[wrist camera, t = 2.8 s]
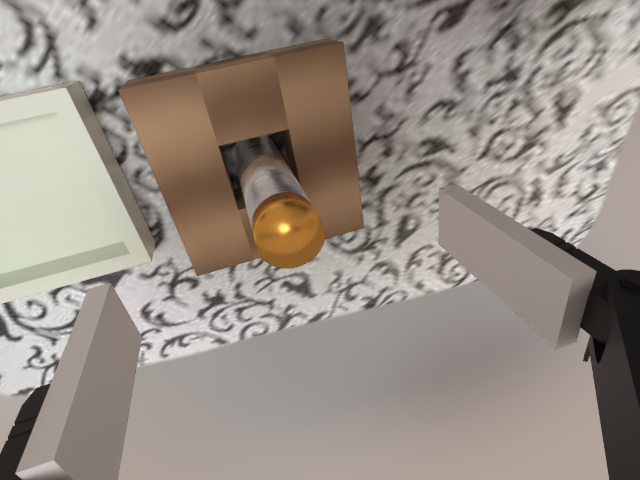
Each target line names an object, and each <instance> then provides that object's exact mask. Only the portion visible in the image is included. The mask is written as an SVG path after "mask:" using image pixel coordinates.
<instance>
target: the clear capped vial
mask: <svg viewBox="0 0 640 480" xmlns="http://www.w3.org/2000/svg"><path fill="white" fill-rule="evenodd" d="M233 157H234V161H235V165H236V169H237V173H238V177H239V181H240V185H241V189H242V193H243V196H244V200H245V204H246V208H247V212H248V216H249V220H250V224H251V228H252V232H253V236H254V239H255V243H256V247H257V250H258V253H259V254H260V256H261V257H262V258H263V259H264V260H265V261H266V262H267V263H269V264H270V265H272V266H275V267H279V268H294V267H298V266H301V265H304V264H306V263H307V262H309V261H310V260H312V259H313V258H314V257H315V256H316V255H317V254H318V253H319V251H320V250H321V248H322V246H323V244H324V240H325V228H324V224H323V222H322V220H321V219H320V217H319V215H318V214H317V212H316V210H315V209H314V207H313V205H312V204H311V202H310V201H309V199H308V197H307V196H306V194H305V192H304V191H303V189H302V187H301V186H300V184H299V182H298V181H297V179H296V178H295V176H294V174H293V173H292V171H291V169H290V168H289V166H288V164H287V163H286V161H285V159H284V158H283V156H282V155H281V153H280V151H279V150H278V148H277V146H276V145H275V143H274V141H273V140H272V139H271V138H270V137H269V136H267V135H263V136H258V137H254V138H250V139H246V140H242V141H238V142H236V144H235V146H234V149H233Z"/></svg>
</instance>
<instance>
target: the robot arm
mask: <svg viewBox="0 0 640 480" xmlns="http://www.w3.org/2000/svg"><path fill="white" fill-rule="evenodd" d="M439 245H440V246H442V247H443V248H444V249H445V250H446V251H447V252H448V253H449V254H450V255H451V256H453V257H454V258H455V259H456V260H457V261H458V262H459V263H460V264H461V265H462V266H464V267H465V268H466V269H467V270H468V271H469V272H470V273H471V274H472V275H473V276H475V277H476V278H477V279H478V280H479V281H480V282H481V283H482V284H483V285H484V286H486V287H487V288H488V289H489V290H490V291H491V292H492V293H493V294H494V295H495V296H497V297H498V298H499V299H500V300H501V301H502V302H503V303H504V304H505V305H506V306H508V307H509V308H510V309H511V310H512V311H513V312H514V313H515V314H516V315H517V316H518V317H520V318H521V319H522V320H523V321H524V322H525V323H526V324H527V325H528V326H529V327H531V328H532V329H533V330H534V331H535V332H536V333H537V334H538V335H539V336H541V337H542V338H543V339H544V340H545V341H546V342H547V343H548V344H549V345H550V346H551V347H553V348H554V349H555V350H556V349H559V348H561V347H564V346H567V345H569V344H572V343H574V342H576V341H577V338H578V334H579V331H580V327H581V328H582V329H583V330H585V331H586V332H587V333H589V334H590V338H589V341H588V345H587V348H586V351H585V354H584V359H583V361H586V362H587V361H588V358H589V356H590V358H591V364H592V370H593V377H594V383H595V389H596V396H597V402H598V409H599V416H600V422H601V429H602V435H603V442H604V448H605V454H606V461H607V468H608V474H609V480H640V271H637V270H618V271H615V270H614V269H612V268H610V267H608V266H607V265H605V264H603V263H602V262H600V261H598V260H597V259H595V258H593V257H592V256H590V255H588V254H586V253H585V252H583V251H581V250H580V249H576V247H575V246H573V245H571V244H570V243H568V242H567V243H566V242H565V240H563V239H561V238H559V237H558V236H556V235H554V234H553V233H550V232H547V231H544V230H540V229H537V228H535V229H531V230H529V229H528V228H526V227H524V226H523V225H521V224H520V223H518V222H516V221H515V220H513V219H512V218H510V217H508V216H507V215H505V214H504V213H502V212H500V211H499V210H497V209H495V208H494V207H492V206H491V205H489V204H487V203H486V202H484V201H483V200H481V199H479V198H478V197H476V196H475V195H473V194H471V193H470V192H468V191H466V190H465V189H463V188H462V187H460V186H458V185H457V184H454V185H450V186H447V187H443V188H440V189H439ZM141 338H142V336H141V334H140V333H139V331H138V329H137V327H136V326H135V324H134V322H133V321H132V319H131V317H130V315H129V314H128V312H127V310H126V309H125V307H124V305H123V303H122V302H121V300H120V298H119V297H118V295H117V293H116V291H115V290H114V288H113V286H112V285H111V283H108V284H105V285H101V286H98V287H94V288H91V289H88V291H87V294H86V296H85V299H84V301H83V304H82V306H81V309H80V311H79V314H78V317H77V319H76V322H75V324H74V327H73V329H72V332H71V334H70V337H69V339H68V342H67V344H66V347H65V349H64V352H63V354H62V357H61V359H60V362H59V364H58V367H57V370H56V372H55V375H54V377H53V380H52V382H51V384H48V385H45V386H42V387H38V388H36V389H35V390H34V392H33V393H32V394H31V395H30V397H29V398H28V399H27V400H26V402H25V403H24V404H23V405H22V407H21V409H20V412H19V414H18V416H17V418H16V420H15V426H13V427H12V429H11V431H10V434H9V436H8V441H6V443H5V445H4V447H3V449H2V451H1V454H0V480H118V475H119V470H120V463H121V458H122V452H123V445H124V439H125V434H126V427H127V422H128V415H129V410H130V404H131V398H132V392H133V386H134V380H135V373H136V368H137V362H138V356H139V350H140V344H141Z"/></svg>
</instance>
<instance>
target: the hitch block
mask: <svg viewBox="0 0 640 480" xmlns="http://www.w3.org/2000/svg"><path fill="white" fill-rule="evenodd" d="M118 91H119V94H120V96H121V98H122V101H123V103H124V105H125V108H126V110H127V112H128V115H129V117H130V119H131V122H132V124H133V127H134V129H135V131H136V134H137V136H138V138H139V141H140V143H141V145H142V148H143V150H144V152H145V155H146V157H147V159H148V162H149V164H150V167H151V169H152V171H153V174H154V176H155V178H156V181H157V183H158V185H159V188H160V190H161V192H162V195H163V197H164V199H165V202H166V204H167V207H168V209H169V211H170V214H171V216H172V218H173V221H174V223H175V225H176V228H177V230H178V232H179V235H180V237H181V239H182V242H183V244H184V247H185V249H186V251H187V254H188V256H189V258H190V261H191V263H192V265H193V268H194V270H195V272H196V275H197V276H199V275H203V274H206V273H210V272H213V271H217V270H220V269H223V268H227V267H230V266H234V265H237V264H241V263H244V262H248V261H251V260H255V259H258V258H262V257H261V256H260V254H259V253H258V250H257V247H256V243H255V239H254V236H253V232H252V228H251V224H250V220H249V216H248V212H247V208H246V204H245V200H244V196H243V193H242V189H241V188H237V189H234V188H233V185H232V181H231V178H230V175H229V172H228V169H227V165H226V162H225V159H224V156H223V152H222V149H221V145H225V144H229V143H234V142H238V141H242V140H246V139H250V138H254V137H258V136H263V135H267V134H271V133H275V132H279V131H282V135H283V139H284V144H285V149H286V153H287V158H288V163H289V167H290V169H291V171H292V173H293V174H294V176H295V178H296V179H297V181H298V182H299V184H300V186H301V187H302V189H303V191H304V192H305V194H306V196H307V197H308V199H309V201H310V202H311V204H312V205H313V207H314V209H315V210H316V212H317V214H318V215H319V217H320V219H321V220H322V222H323V224H324V228H325V239H327V238H331V237H334V236H338V235H341V234H345V233H348V232H352V231H355V230H359V229H362V228H364V222H363V213H362V204H361V195H360V186H359V178H358V169H357V160H356V151H355V142H354V133H353V124H352V115H351V106H350V97H349V88H348V80H347V71H346V62H345V53H344V44H343V42H338V41H333V40H327V39H324V40H319V41H315V42H310V43H305V44H300V45H295V46H291V47H286V48H281V49H276V50H271V51H267V52H262V53H257V54H252V55H247V56H243V57H238V58H233V59H228V60H223V61H219V62H214V63H209V64H204V65H199V66H195V67H190V68H185V69H180V70H175V71H171V72H166V73H161V74H156V75H151V76H147V77H142V78H137V79H132V80H128V81H127V82H126V83H125V84H124V85H123V86H122V87H121V88H120V89H119V90H118Z"/></svg>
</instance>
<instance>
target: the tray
mask: <svg viewBox="0 0 640 480" xmlns="http://www.w3.org/2000/svg"><path fill="white" fill-rule="evenodd" d="M154 247H155V240H154V238H153V236H152V234H151V232H150V230H149V228H148V225H147V223H146V221H145V219H144V217H143V215H142V213H141V211H140V208H139V206H138V204H137V202H136V200H135V198H134V196H133V194H132V192H131V189H130V187H129V185H128V183H127V181H126V179H125V177H124V175H123V172H122V170H121V168H120V166H119V164H118V162H117V160H116V158H115V155H114V153H113V151H112V149H111V147H110V145H109V143H108V141H107V139H106V136H105V134H104V132H103V130H102V128H101V126H100V124H99V122H98V119H97V117H96V115H95V113H94V111H93V109H92V107H91V105H90V102H89V100H88V98H87V96H86V94H85V92H84V90H83V88H82V85H81V83H80V81H74V82H69V83H64V84H59V85H54V86H49V87H45V88H40V89H35V90H30V91H25V92H20V93H15V94H10V95H5V96H1V97H0V304H1V303H5V302H9V301H12V300H16V299H19V298H23V297H26V296H30V295H34V294H37V293H41V292H44V291H48V290H52V289H55V288H59V287H62V286H66V285H70V284H73V283H77V282H80V281H84V280H88V279H91V278H95V277H98V276H102V275H106V274H109V273H113V272H116V271H120V270H123V269H127V268H131V267H134V266H138V265H141V264H145V263H149V262H152V258H153V252H154Z"/></svg>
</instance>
